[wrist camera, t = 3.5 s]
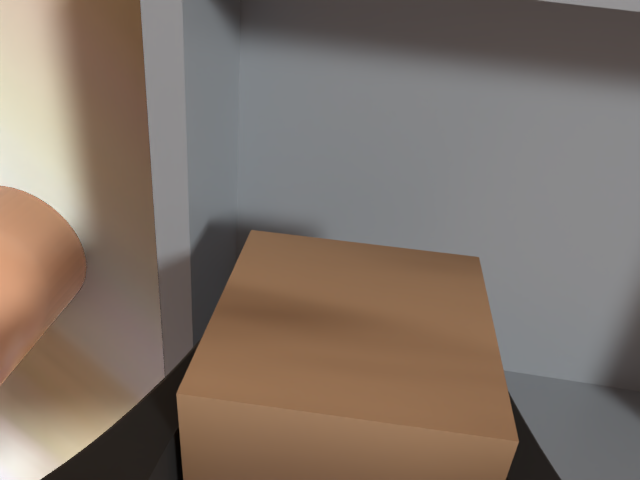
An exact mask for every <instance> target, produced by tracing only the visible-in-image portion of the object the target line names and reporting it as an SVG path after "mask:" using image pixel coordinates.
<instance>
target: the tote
mask: <svg viewBox="0 0 640 480" xmlns="http://www.w3.org/2000/svg"><path fill="white" fill-rule="evenodd" d="M140 6H141V21H142V36H143V51H144V66H145V82H146V97H147V112H148V127H149V142H150V157H151V173H152V188H153V203H154V218H155V233H156V248H157V263H158V279H159V294H160V309H161V324H162V339H163V354H164V370H165V377H166V376H167V375H168V374H169V373H170V372H171V370H172V369H173V368H174V367H175V366H176V365H177V364H178V363H179V362H180V361H181V360H182V359H183V358H184V357H185V356H186V355H187V354H188V352H189V351H190V350H191V349H192V348H193V347H194V346H195V345H196V344H197V342H198V341H199V340H200V339H201V338H202V336H203V334H204V332H205V330H206V328H207V325H208V323H209V321H210V319H211V317H212V314H213V312H214V310H215V308H216V306H217V303H218V301H219V299H220V297H221V295H222V293H223V290H224V288H225V286H226V284H227V282H228V279H229V277H230V275H231V273H232V271H233V269H234V266H235V264H236V262H237V260H238V258H239V255H240V253H241V251H242V249H243V247H244V244H245V242H246V240H247V238H248V236H249V234H250V231H251V230H256V231H265V232H273V233H281V234H290V235H298V236H307V237H315V238H324V239H332V240H340V241H349V242H357V243H366V244H374V245H382V246H391V247H399V248H408V249H416V250H424V251H433V252H441V253H450V254H458V255H467V256H475V257H479V259H480V264H481V268H482V273H483V278H484V282H485V287H486V291H487V296H488V301H489V305H490V310H491V314H492V319H493V324H494V328H495V333H496V338H497V342H498V347H499V351H500V356H501V361H502V365H503V370H504V375H505V379H506V384H507V388H508V391H509V393H510V395H511V397H512V398H513V400H514V402H515V404H516V406H517V408H518V409H519V411H520V413H521V415H522V416H523V418H524V420H525V422H526V423H527V425H528V427H529V429H530V430H531V432H532V434H533V435H534V437H535V439H536V440H537V442H538V444H539V445H540V447H541V449H542V450H543V452H544V453H545V455H546V457H547V458H548V460H549V461H550V463H551V464H552V466H553V468H554V469H555V471H556V472H557V474H558V475H559V477H560V478H561V480H640V0H140Z"/></svg>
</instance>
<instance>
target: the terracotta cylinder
mask: <svg viewBox="0 0 640 480" xmlns="http://www.w3.org/2000/svg"><path fill="white" fill-rule="evenodd" d="M85 276H86V258H85V253H84V250H83V247H82V245H81V242H80V240H79V238H78V236H77V235H76V233H75V232H74V230H73V229H72V227H71V226H70V225H69V224H68V222H67V221H66V220H65V219H64V218H63V217H62V216H61V215H60V214H59V213H58V212H57V211H56V210H54V209H53V208H52V207H51V206H49V205H48V204H47V203H45V202H44V201H42V200H40V199H39V198H37V197H35V196H33V195H31V194H29V193H26V192H24V191H21V190H18V189H15V188H11V187H6V186H0V386H1V384H2V383H3V382H4V381H5V380H6V378H7V377H8V376H9V375H10V374H11V372H12V371H13V370H14V369H15V368H16V366H17V365H18V364H19V363H20V362H21V360H22V359H23V358H24V357H25V355H26V354H27V353H28V352H29V351H30V349H31V348H32V347H33V346H34V345H35V343H36V342H37V341H38V340H39V339H40V337H41V336H42V335H43V334H44V333H45V331H46V330H47V329H48V328H49V327H50V325H51V324H52V323H53V322H54V321H55V319H56V318H57V317H58V316H59V315H60V313H61V312H62V311H63V310H64V309H65V307H66V306H67V305H68V304H69V303H70V301H71V300H72V299H73V298H74V297H75V295H76V294H77V293H78V292H79V290H80V289H81V287H82V285H83V283H84V280H85Z"/></svg>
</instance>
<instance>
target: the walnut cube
mask: <svg viewBox="0 0 640 480" xmlns="http://www.w3.org/2000/svg"><path fill="white" fill-rule="evenodd" d="M176 396H177V408H178V421H179V433H180V445H181V457H182V470H183V480H506V477H507V474H508V472H509V469H510V466H511V463H512V460H513V457H514V454H515V452H516V449H517V446H518V443H519V439H518V435H517V430H516V425H515V421H514V416H513V411H512V407H511V402H510V398H509V393H508V388H507V384H506V379H505V375H504V370H503V365H502V361H501V356H500V351H499V347H498V342H497V338H496V333H495V328H494V324H493V319H492V314H491V310H490V305H489V301H488V296H487V291H486V287H485V282H484V278H483V273H482V268H481V264H480V259H479V257H475V256H467V255H458V254H450V253H441V252H433V251H424V250H416V249H408V248H399V247H391V246H382V245H374V244H366V243H357V242H349V241H340V240H332V239H324V238H315V237H307V236H298V235H290V234H281V233H273V232H265V231H256V230H251V231H250V234H249V236H248V238H247V240H246V242H245V244H244V247H243V249H242V251H241V253H240V255H239V258H238V260H237V262H236V264H235V266H234V269H233V271H232V273H231V275H230V277H229V279H228V282H227V284H226V286H225V288H224V290H223V293H222V295H221V297H220V299H219V301H218V303H217V306H216V308H215V310H214V312H213V314H212V317H211V319H210V321H209V323H208V325H207V328H206V330H205V332H204V334H203V336H202V338H201V341H200V343H199V345H198V347H197V349H196V352H195V354H194V356H193V358H192V360H191V362H190V365H189V367H188V369H187V371H186V373H185V376H184V378H183V380H182V382H181V384H180V386H179V389H178V391H177V393H176Z"/></svg>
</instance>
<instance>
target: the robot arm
mask: <svg viewBox="0 0 640 480" xmlns="http://www.w3.org/2000/svg"><path fill="white" fill-rule="evenodd" d="M200 341H201V339H200V340H199V341H198V342H197V344H196V345H195V346H194V347H193V348H192V349H191V350H190V351H189V352H188V354H187V355H186V356H185V357H184V358H183V359H182V360H181V361H180V362H179V363H178V364H177V365H176V366H175V367H174V368H173V369H172V370H171V372H170V373H169V374H168V375H167V376H166V377H165V378H164V379H163V380H162V381H161V382H160V383H159V384H157V385H156V386H155V387H154V388H153V389H152V390H151V391H150V392H149V393H148V394H147V395H146V396H145V397H144V398H143V399H142V400H141V401H140V402H139V403H138V404H137V405H135V406H134V407H133V408H132V409H131V410H130V411H129V412H128V413H126V414H125V415H124V416H123V417H122V418H121V419H120V420H118V421H117V422H116V423H115V424H114V425H113V426H112V427H110V428H109V429H108V430H107V431H106V432H104V433H103V434H102V435H101V436H99V437H98V438H97V439H96V440H94V441H93V442H92V443H91V444H89V445H88V446H87V447H86V448H84V449H83V450H82V451H80V452H79V453H78V454H76V455H75V456H74V457H72V458H71V459H70V460H68V461H67V462H65V463H64V464H62V465H61V466H60V467H58V468H57V469H55V470H54V471H52V472H51V473H49V474H48V475H46V476H45V477H44V478H42V479H41V480H183V470H182V457H181V445H180V433H179V421H178V408H177V396H176V393H177V391H178V389H179V386H180V384H181V382H182V380H183V378H184V376H185V373H186V371H187V369H188V367H189V365H190V362H191V360H192V358H193V356H194V354H195V352H196V349H197V347H198V345H199V343H200ZM508 393H509V391H508ZM509 398H510V402H511V407H512V411H513V416H514V421H515V425H516V430H517V435H518V439H519V443H518V446H517V449H516V452H515V454H514V457H513V460H512V463H511V466H510V469H509V472H508V474H507V477H506V480H561V478H560V477H559V475H558V474H557V472H556V471H555V469H554V468H553V466H552V464H551V463H550V461H549V460H548V458H547V457H546V455H545V453H544V452H543V450H542V449H541V447H540V445H539V444H538V442H537V440H536V439H535V437H534V435H533V434H532V432H531V430H530V429H529V427H528V425H527V423H526V422H525V420H524V418H523V416H522V415H521V413H520V411H519V409H518V408H517V406H516V404H515V402H514V400H513V398H512V397H511V395H510V393H509Z"/></svg>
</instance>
